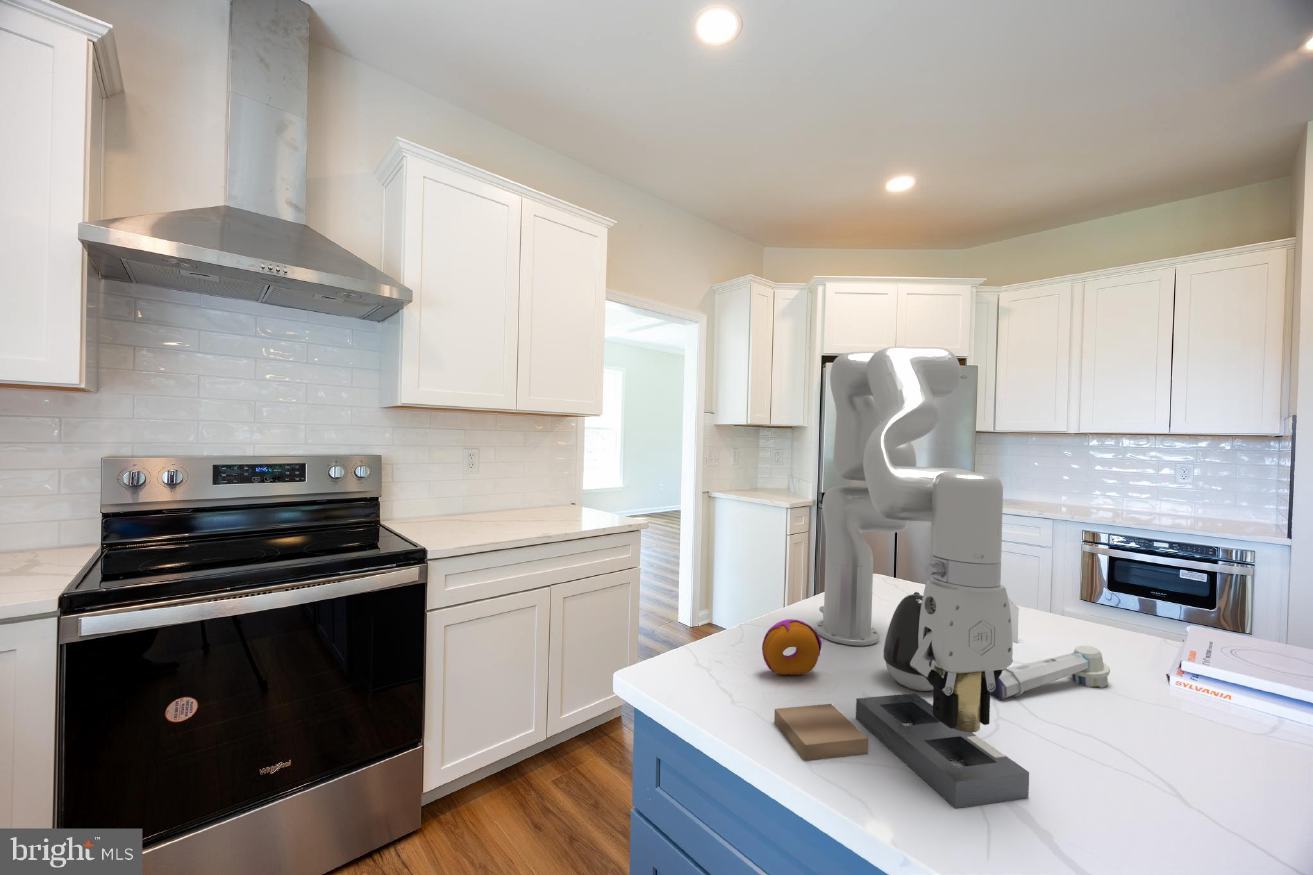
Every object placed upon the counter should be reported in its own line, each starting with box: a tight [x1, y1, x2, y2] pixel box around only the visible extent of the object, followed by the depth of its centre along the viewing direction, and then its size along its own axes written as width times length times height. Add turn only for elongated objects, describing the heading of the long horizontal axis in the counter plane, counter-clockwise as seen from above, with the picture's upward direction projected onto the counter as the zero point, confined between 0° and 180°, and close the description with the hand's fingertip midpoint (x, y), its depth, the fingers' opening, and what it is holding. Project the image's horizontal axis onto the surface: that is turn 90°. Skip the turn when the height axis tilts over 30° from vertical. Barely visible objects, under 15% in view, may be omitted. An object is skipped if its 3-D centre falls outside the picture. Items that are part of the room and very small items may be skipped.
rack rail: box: [855, 692, 1030, 809], centre depth 69 cm, size 19×10×3 cm, turn 13°
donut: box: [761, 618, 823, 676], centre depth 91 cm, size 8×9×10 cm
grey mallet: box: [989, 645, 1111, 700], centre depth 89 cm, size 5×7×25 cm
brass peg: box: [944, 671, 981, 733], centre depth 65 cm, size 4×4×7 cm
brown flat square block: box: [773, 703, 869, 761], centre depth 72 cm, size 9×9×2 cm
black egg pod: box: [882, 591, 944, 692], centre depth 89 cm, size 10×10×15 cm
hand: (960, 719), depth 65 cm, fingers closed on brass peg, 4 cm apart
